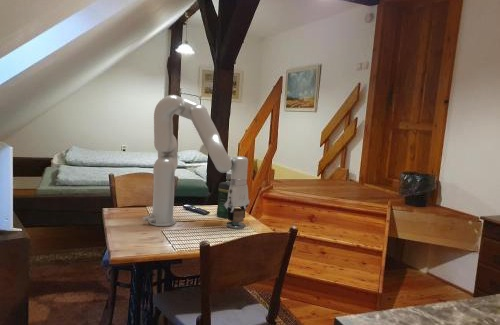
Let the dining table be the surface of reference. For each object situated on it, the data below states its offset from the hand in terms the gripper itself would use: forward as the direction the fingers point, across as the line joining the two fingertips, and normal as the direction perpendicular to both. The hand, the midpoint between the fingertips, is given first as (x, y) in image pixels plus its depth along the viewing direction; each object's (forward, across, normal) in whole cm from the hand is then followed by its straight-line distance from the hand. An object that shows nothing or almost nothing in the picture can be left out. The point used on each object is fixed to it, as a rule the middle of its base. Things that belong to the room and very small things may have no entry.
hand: (236, 218), depth 172 cm
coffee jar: (+4, +8, +16) cm, 18 cm away
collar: (+1, 0, 0) cm, 1 cm away
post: (+4, 0, 0) cm, 4 cm away
